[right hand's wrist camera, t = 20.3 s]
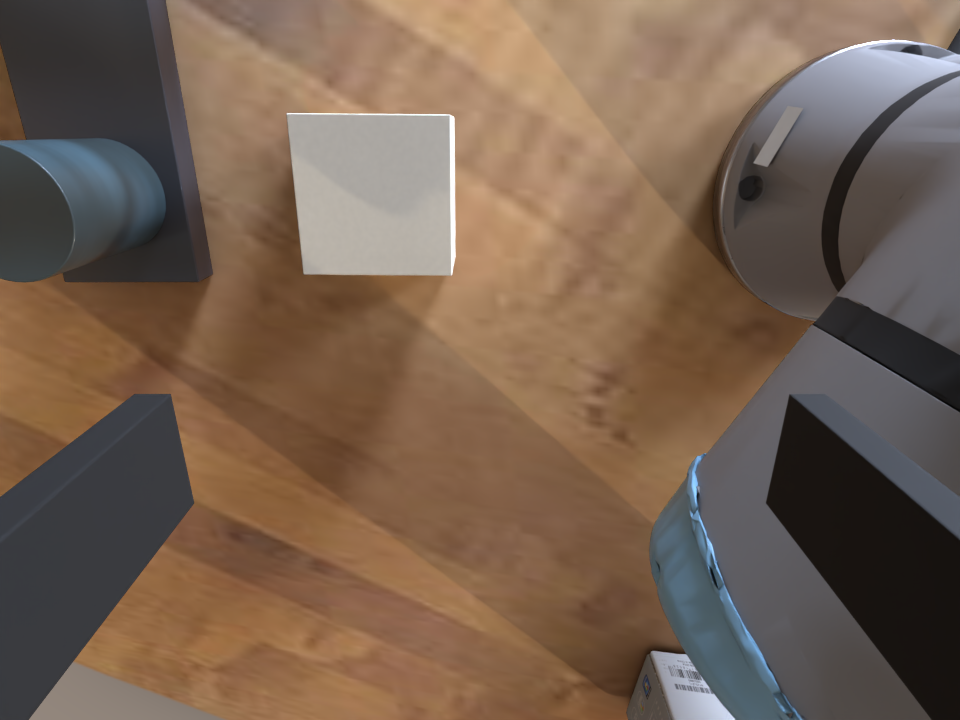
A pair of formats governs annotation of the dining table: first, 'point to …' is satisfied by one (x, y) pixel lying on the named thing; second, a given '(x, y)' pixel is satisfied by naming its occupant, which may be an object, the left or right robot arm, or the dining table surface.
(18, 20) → the stand
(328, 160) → the white square block
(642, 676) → the hard drive box
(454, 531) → the dining table surface
